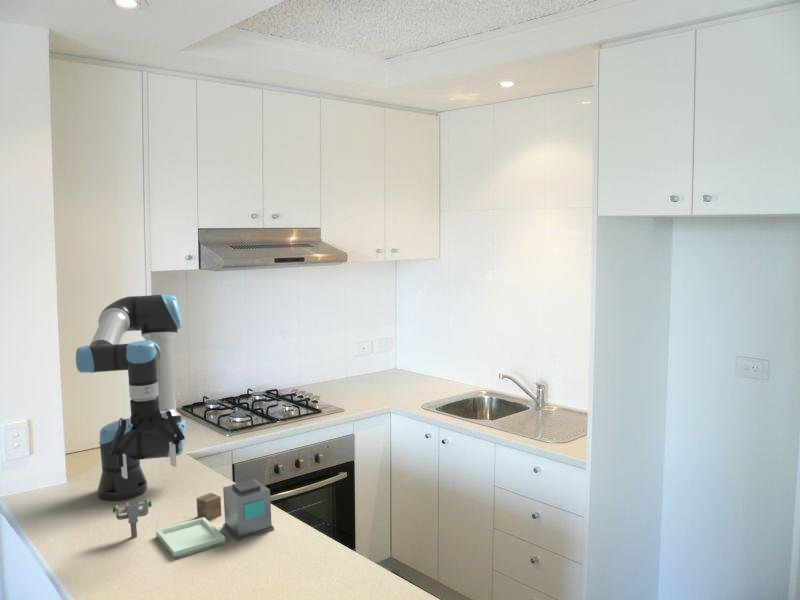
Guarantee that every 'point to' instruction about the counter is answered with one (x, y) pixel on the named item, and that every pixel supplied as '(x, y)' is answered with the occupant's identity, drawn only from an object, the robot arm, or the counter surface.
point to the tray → (190, 537)
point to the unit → (247, 509)
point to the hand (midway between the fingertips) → (149, 471)
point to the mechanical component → (133, 513)
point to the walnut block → (209, 506)
